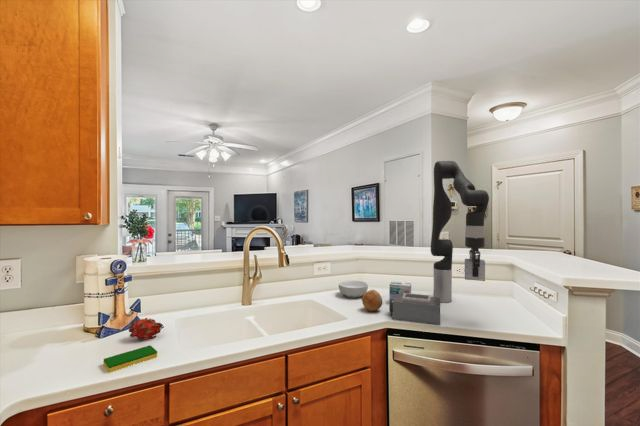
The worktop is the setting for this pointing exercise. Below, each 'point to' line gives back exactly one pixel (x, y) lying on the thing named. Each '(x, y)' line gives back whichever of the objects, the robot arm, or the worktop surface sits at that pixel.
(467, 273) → the medicine box
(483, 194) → the robot arm
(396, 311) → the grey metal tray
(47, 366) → the worktop surface
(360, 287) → the cereal bowl
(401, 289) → the light bulb box
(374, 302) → the onion
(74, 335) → the worktop surface
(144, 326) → the dragon fruit
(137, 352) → the dish sponge
